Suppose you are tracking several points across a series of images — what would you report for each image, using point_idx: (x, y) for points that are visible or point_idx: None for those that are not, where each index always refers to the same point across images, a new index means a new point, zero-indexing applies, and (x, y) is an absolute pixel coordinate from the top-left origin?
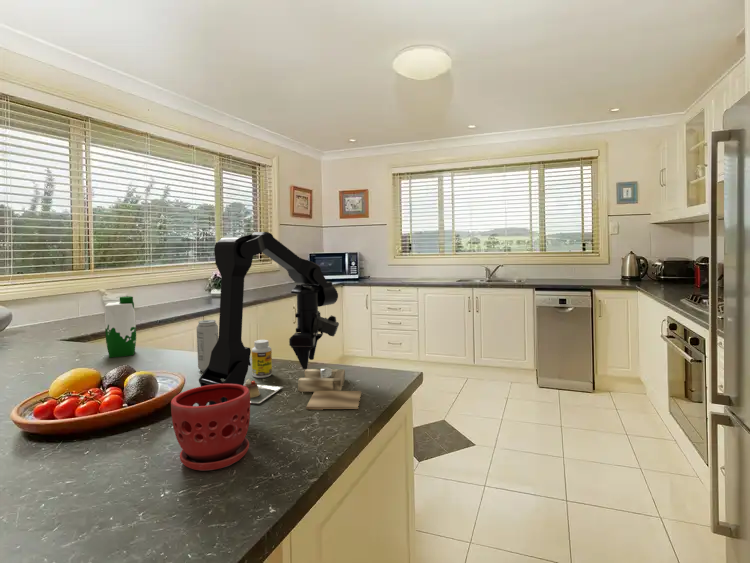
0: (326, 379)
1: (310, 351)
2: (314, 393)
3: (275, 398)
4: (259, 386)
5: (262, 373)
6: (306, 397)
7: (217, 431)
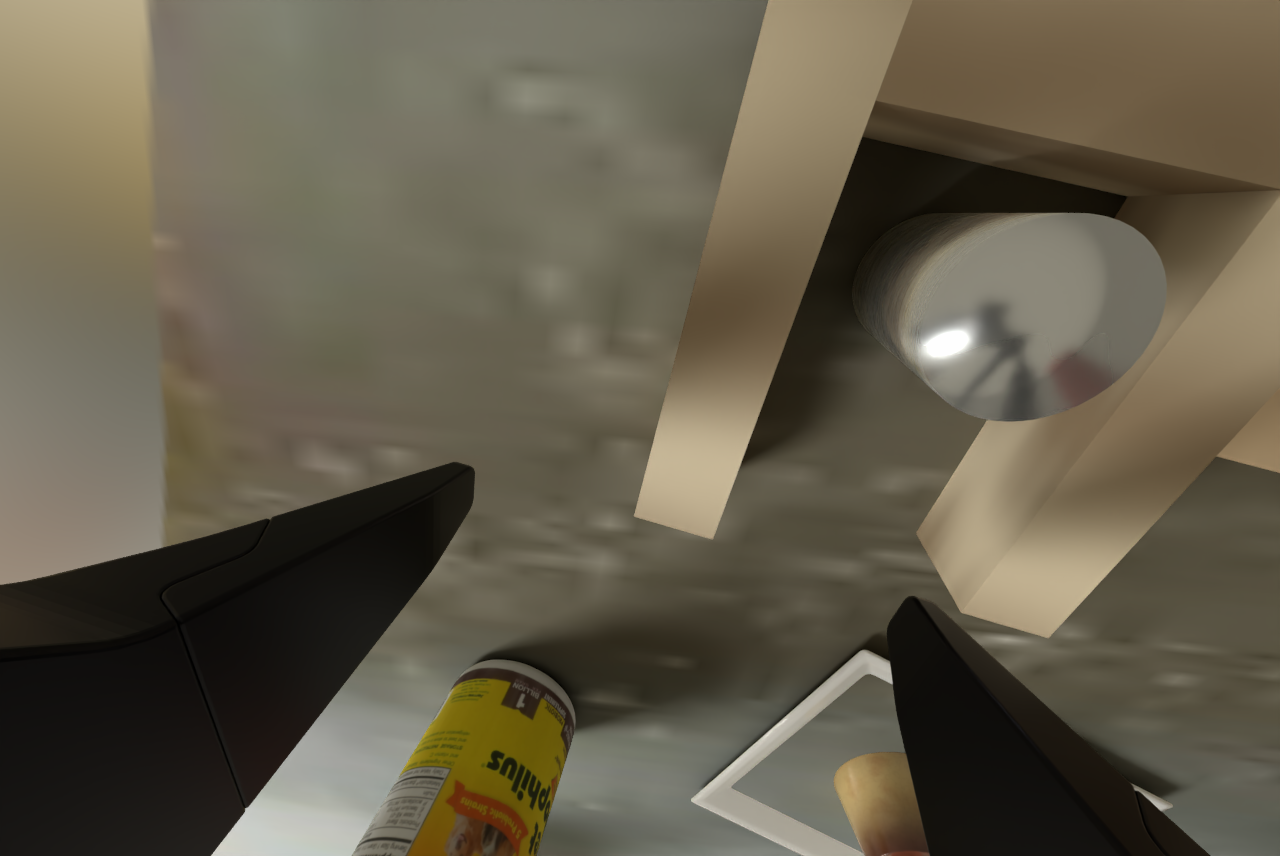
0: (1265, 325)
1: (392, 575)
2: (1257, 453)
3: (1070, 703)
4: (770, 747)
5: (567, 735)
6: (1220, 513)
7: None
